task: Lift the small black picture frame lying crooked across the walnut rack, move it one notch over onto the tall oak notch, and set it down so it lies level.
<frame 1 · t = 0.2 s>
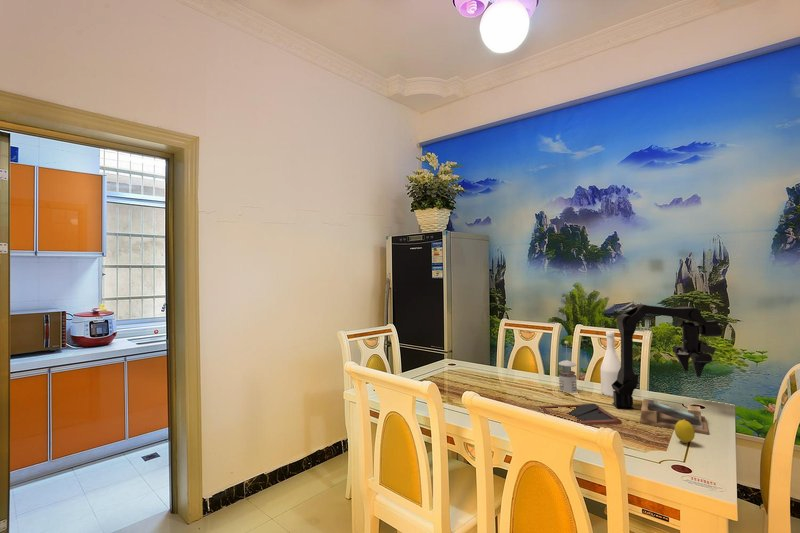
hand: (692, 373, 168), 14 cm above the table, tool pointing down, fingers open, 9 cm apart
lemon: (685, 443, 136), on the table
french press: (568, 391, 195), on the table
wine bottle: (612, 394, 189), on the table
picture frame 2: (577, 417, 164), on the table
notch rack: (672, 421, 155), on the table
picture frame: (671, 414, 152), point 4 cm above the table, tilted 13°, touching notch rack
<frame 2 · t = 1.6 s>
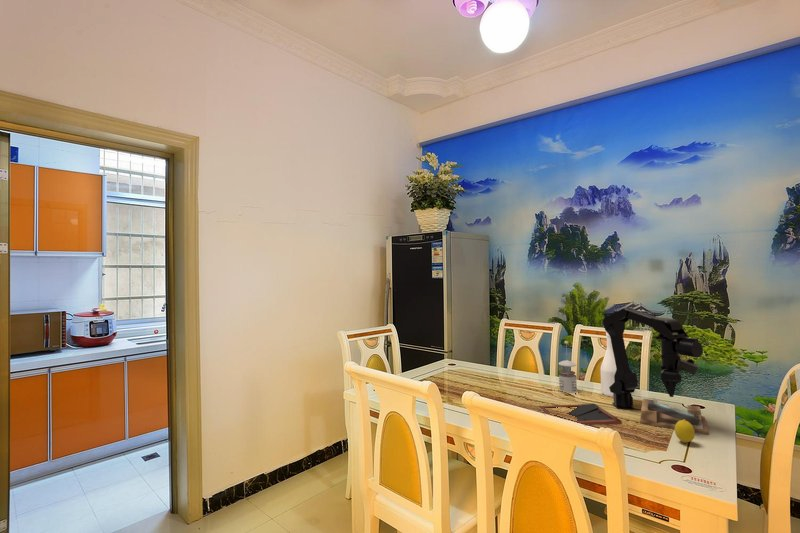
hand: (671, 393, 152), 12 cm above the table, tool pointing down, fingers open, 9 cm apart
nothing on the table moved.
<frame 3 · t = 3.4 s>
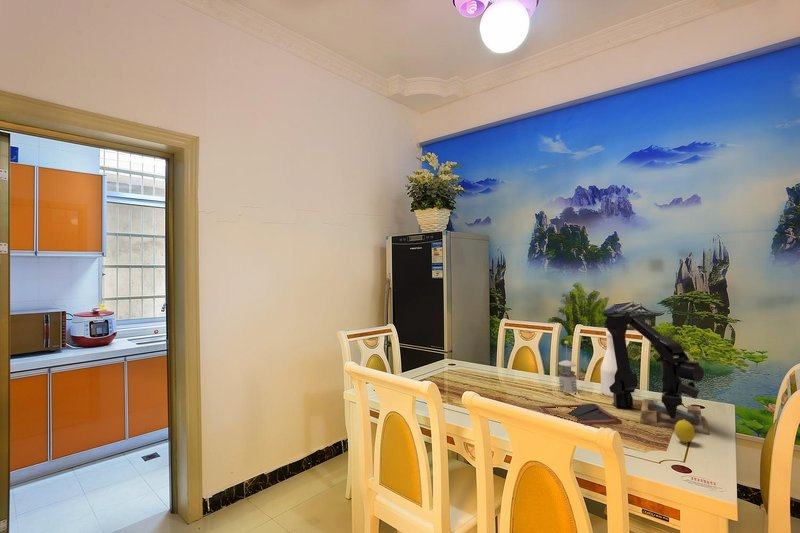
hand: (672, 416, 151), 3 cm above the table, tool pointing down, fingers closed on picture frame, 5 cm apart
picture frame: (671, 414, 152), point 4 cm above the table, tilted 13°, touching gripper, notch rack
everything else where it was.
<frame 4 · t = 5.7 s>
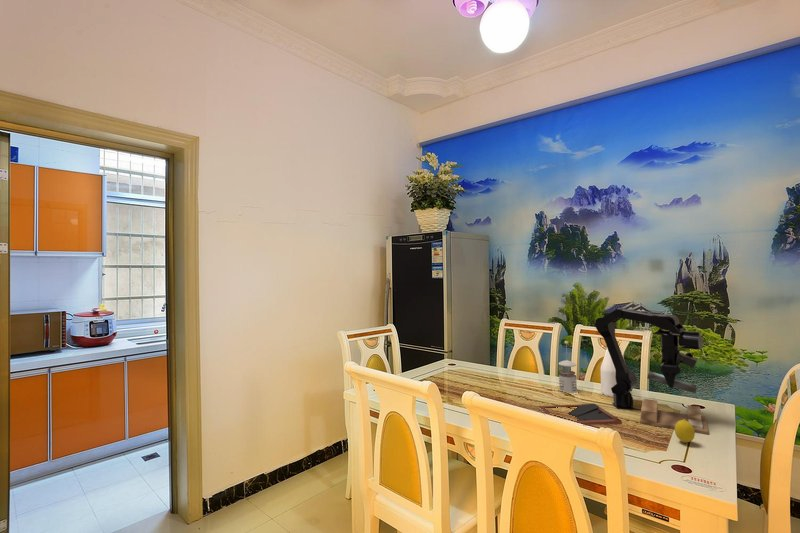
hand: (671, 385, 158), 13 cm above the table, tool pointing down, fingers closed on picture frame, 5 cm apart
picture frame: (670, 384, 158), point 13 cm above the table, tilted 14°, touching gripper
everything else where it was.
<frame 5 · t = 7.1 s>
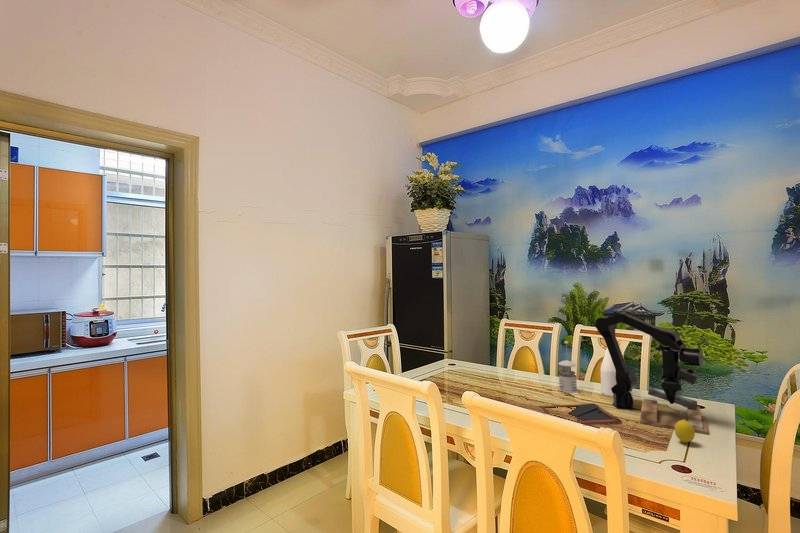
hand: (671, 401, 158), 6 cm above the table, tool pointing down, fingers closed on picture frame, 5 cm apart
picture frame: (671, 400, 158), point 7 cm above the table, tilted 13°, touching gripper
everything else where it was.
when the fingers open (6 cm above the table, at t = 8.2 s): picture frame drops 2 cm, resting on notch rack.
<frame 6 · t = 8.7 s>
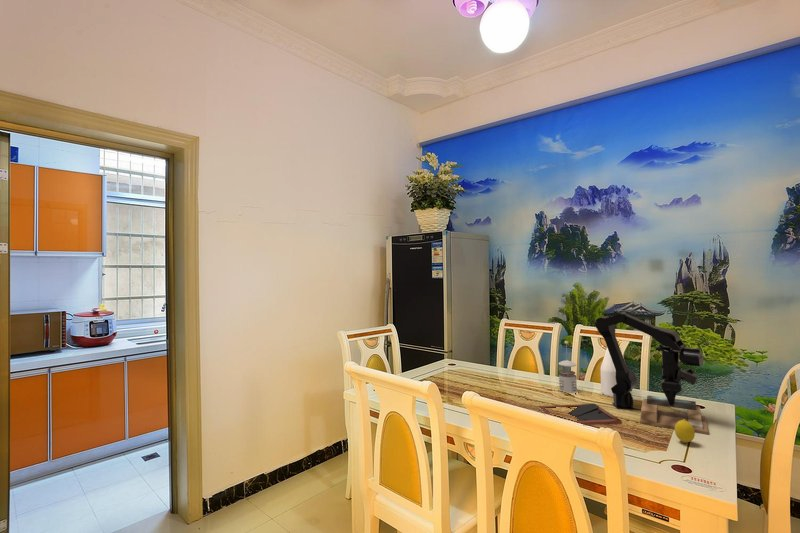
hand: (671, 402, 158), 6 cm above the table, tool pointing down, fingers open, 9 cm apart
picture frame: (670, 405, 158), point 5 cm above the table, touching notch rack
everything else where it was.
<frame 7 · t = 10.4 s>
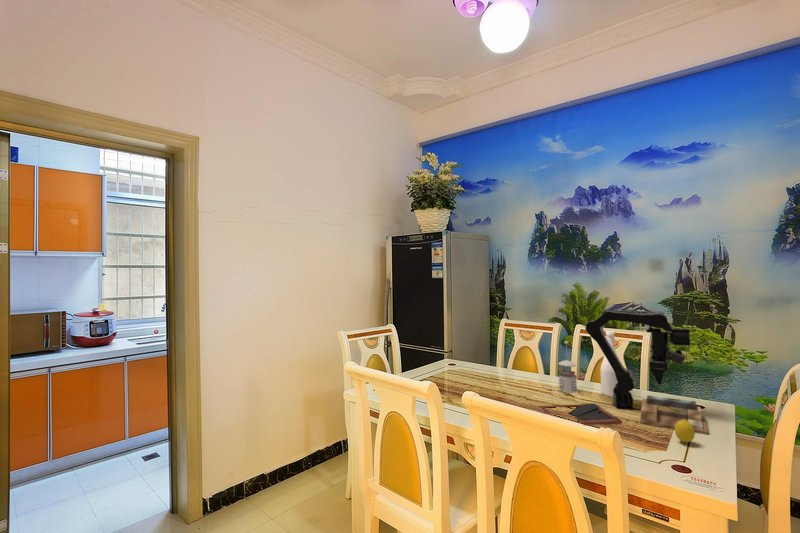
hand: (660, 381, 164), 13 cm above the table, tool pointing down, fingers open, 9 cm apart
nothing on the table moved.
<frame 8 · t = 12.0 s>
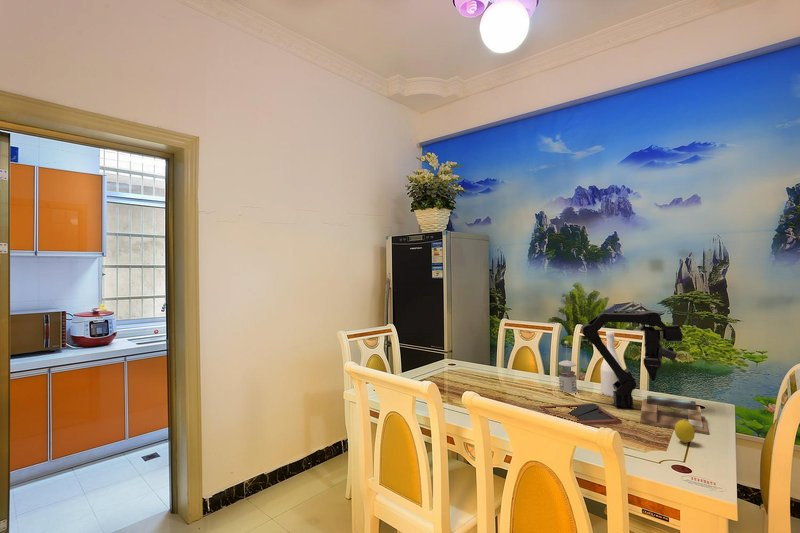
hand: (653, 378, 169), 13 cm above the table, tool pointing down, fingers open, 9 cm apart
nothing on the table moved.
at the end: picture frame tilted 0°; picture frame 0.7 cm from the target spot, point 5.0 cm above the table; the gripper is holding nothing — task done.
